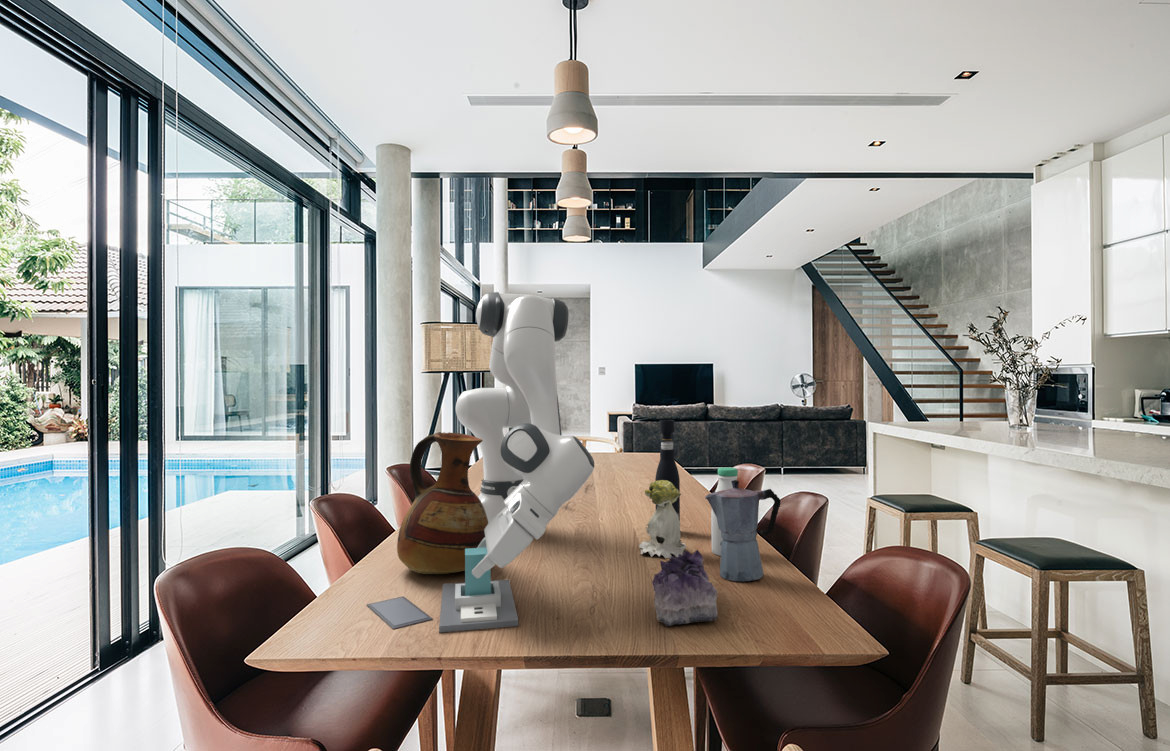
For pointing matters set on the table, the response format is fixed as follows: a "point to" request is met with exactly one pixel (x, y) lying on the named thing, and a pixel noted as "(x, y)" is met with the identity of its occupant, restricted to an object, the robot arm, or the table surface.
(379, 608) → the phone
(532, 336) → the robot arm
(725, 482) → the milk bottle
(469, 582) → the teal box with slot
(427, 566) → the ceramic pitcher
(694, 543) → the table surface
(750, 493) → the moka pot
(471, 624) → the grey socket base board
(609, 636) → the table surface
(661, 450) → the wine bottle
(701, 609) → the geode
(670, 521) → the green-topped white figurine
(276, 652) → the table surface
